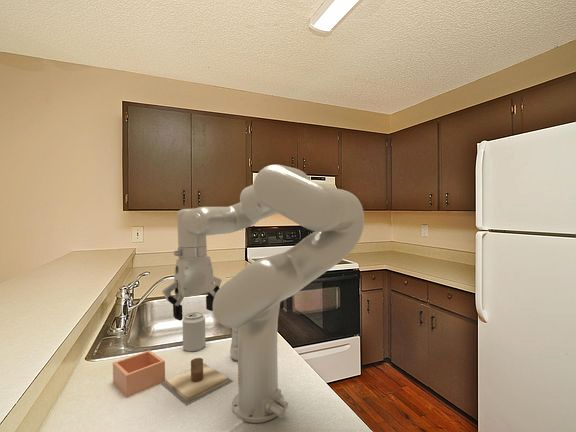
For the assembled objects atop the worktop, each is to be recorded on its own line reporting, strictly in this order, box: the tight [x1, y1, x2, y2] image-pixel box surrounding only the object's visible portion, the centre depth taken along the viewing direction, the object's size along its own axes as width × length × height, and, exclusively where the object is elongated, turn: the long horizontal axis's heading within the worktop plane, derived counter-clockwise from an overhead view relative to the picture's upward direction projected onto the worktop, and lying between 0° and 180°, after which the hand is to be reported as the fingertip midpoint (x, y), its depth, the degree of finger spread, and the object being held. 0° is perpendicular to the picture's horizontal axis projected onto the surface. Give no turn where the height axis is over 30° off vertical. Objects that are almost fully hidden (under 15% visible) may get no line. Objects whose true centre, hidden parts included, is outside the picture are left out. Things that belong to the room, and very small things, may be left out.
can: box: [181, 311, 206, 352], centre depth 105 cm, size 8×8×12 cm
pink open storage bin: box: [112, 350, 166, 398], centre depth 84 cm, size 10×10×6 cm
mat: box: [160, 377, 234, 406], centre depth 83 cm, size 14×14×1 cm
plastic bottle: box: [229, 327, 239, 362], centre depth 97 cm, size 6×7×20 cm
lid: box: [165, 357, 229, 402], centre depth 83 cm, size 12×12×6 cm
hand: (195, 314), depth 84 cm, fingers open, 9 cm apart
